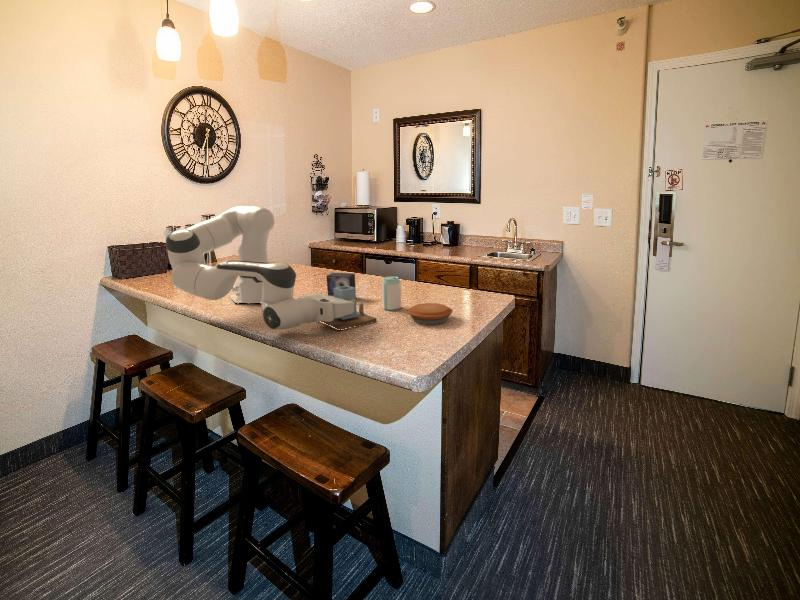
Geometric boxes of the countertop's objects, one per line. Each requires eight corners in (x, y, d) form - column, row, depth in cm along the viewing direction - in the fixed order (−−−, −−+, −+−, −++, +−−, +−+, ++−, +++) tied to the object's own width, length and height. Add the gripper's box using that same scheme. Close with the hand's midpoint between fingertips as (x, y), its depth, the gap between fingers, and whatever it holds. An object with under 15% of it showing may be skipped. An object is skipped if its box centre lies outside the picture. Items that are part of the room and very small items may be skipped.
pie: (449, 313, 164) (449, 300, 163) (455, 326, 149) (455, 311, 148) (406, 314, 164) (406, 301, 163) (409, 328, 149) (408, 313, 148)
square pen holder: (331, 315, 157) (329, 288, 154) (348, 311, 161) (347, 284, 159) (342, 319, 151) (341, 291, 149) (360, 315, 156) (359, 287, 153)
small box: (327, 300, 188) (325, 275, 185) (333, 296, 194) (332, 272, 191) (350, 301, 185) (349, 276, 182) (356, 297, 191) (355, 273, 188)
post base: (316, 321, 158) (315, 304, 156) (352, 313, 167) (351, 296, 166) (340, 331, 147) (338, 312, 145) (376, 321, 156) (376, 304, 155)
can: (390, 305, 177) (389, 275, 174) (404, 307, 173) (404, 277, 170) (378, 309, 172) (377, 278, 169) (392, 312, 167) (392, 280, 164)
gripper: (296, 311, 154) (329, 303, 164) (333, 323, 140) (366, 313, 149) (295, 293, 153) (328, 286, 162) (331, 303, 138) (365, 295, 148)
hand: (347, 299), depth 156 cm, fingers closed on square pen holder, 6 cm apart
